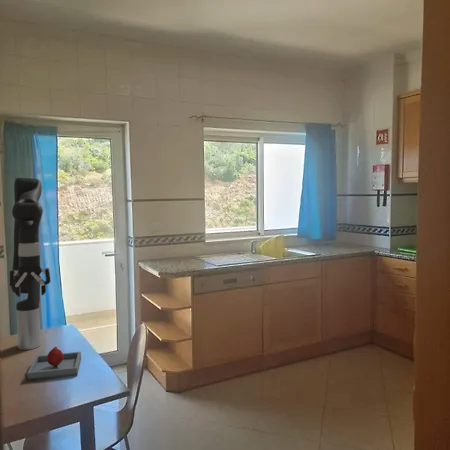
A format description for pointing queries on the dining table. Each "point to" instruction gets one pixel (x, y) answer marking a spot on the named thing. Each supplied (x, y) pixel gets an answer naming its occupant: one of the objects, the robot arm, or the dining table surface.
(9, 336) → the dining table surface
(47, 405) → the dining table surface
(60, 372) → the tray
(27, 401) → the dining table surface
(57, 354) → the onion
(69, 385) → the dining table surface
